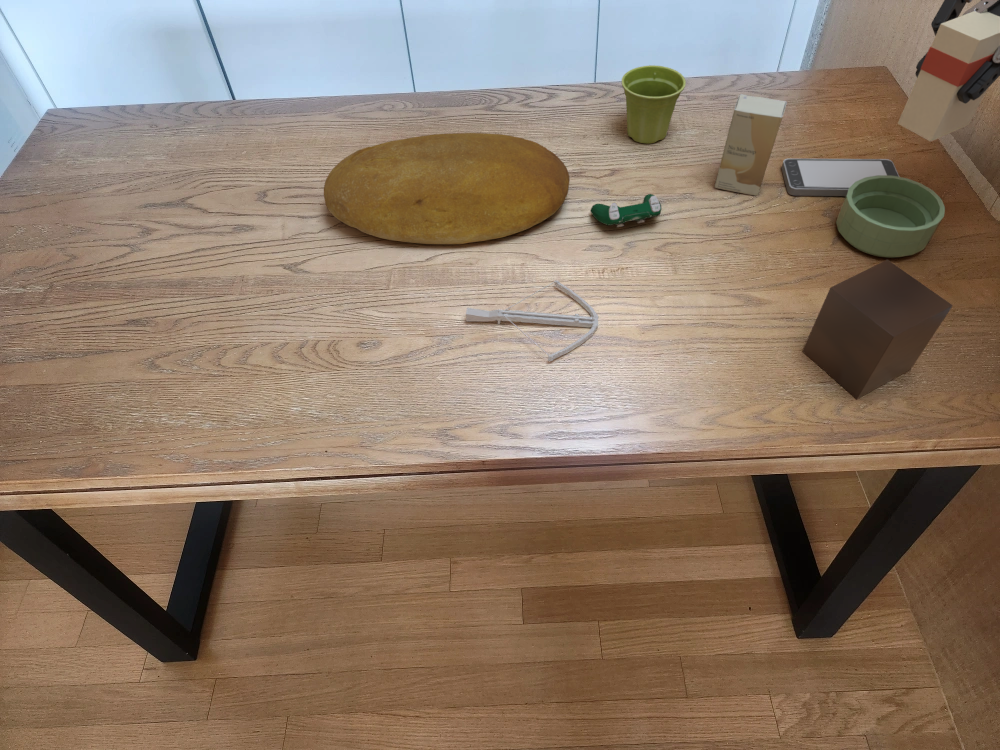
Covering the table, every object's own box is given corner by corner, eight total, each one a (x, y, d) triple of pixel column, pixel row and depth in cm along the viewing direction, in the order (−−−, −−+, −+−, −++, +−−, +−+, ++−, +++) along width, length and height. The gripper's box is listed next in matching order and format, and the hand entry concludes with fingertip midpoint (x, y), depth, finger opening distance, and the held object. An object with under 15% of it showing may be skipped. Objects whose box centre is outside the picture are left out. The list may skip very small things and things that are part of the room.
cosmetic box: (713, 189, 95) (731, 109, 86) (719, 172, 98) (737, 92, 88) (759, 197, 93) (783, 116, 84) (764, 179, 96) (787, 99, 86)
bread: (336, 181, 102) (318, 121, 95) (562, 162, 102) (563, 100, 94) (321, 260, 91) (299, 199, 83) (576, 239, 90) (578, 176, 82)
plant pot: (679, 119, 107) (687, 66, 100) (675, 152, 101) (683, 98, 95) (621, 116, 109) (625, 63, 102) (613, 148, 103) (618, 95, 96)
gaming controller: (593, 233, 94) (604, 228, 88) (588, 206, 93) (599, 199, 87) (655, 221, 94) (670, 215, 88) (651, 194, 94) (666, 186, 88)
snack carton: (969, 125, 75) (1023, 23, 66) (930, 142, 73) (980, 40, 64) (934, 107, 77) (982, 7, 69) (896, 123, 76) (939, 23, 67)
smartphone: (782, 158, 97) (891, 159, 95) (780, 164, 98) (888, 165, 96) (790, 188, 92) (905, 190, 90) (788, 195, 93) (902, 196, 91)
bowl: (946, 241, 85) (965, 209, 81) (883, 273, 82) (899, 241, 79) (877, 197, 92) (891, 165, 88) (815, 225, 89) (827, 193, 85)
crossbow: (597, 292, 85) (599, 281, 83) (595, 369, 77) (597, 358, 75) (473, 283, 86) (473, 271, 84) (459, 357, 78) (458, 346, 76)
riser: (910, 369, 73) (953, 305, 65) (856, 399, 71) (893, 336, 63) (854, 324, 78) (887, 259, 70) (801, 351, 76) (830, 287, 68)
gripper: (1012, -112, 66) (877, 45, 72) (1163, -72, 58) (995, 101, 64) (1020, -64, 71) (893, 78, 78) (1158, -21, 63) (1004, 134, 69)
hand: (940, 87), depth 71 cm, fingers closed on snack carton, 4 cm apart
